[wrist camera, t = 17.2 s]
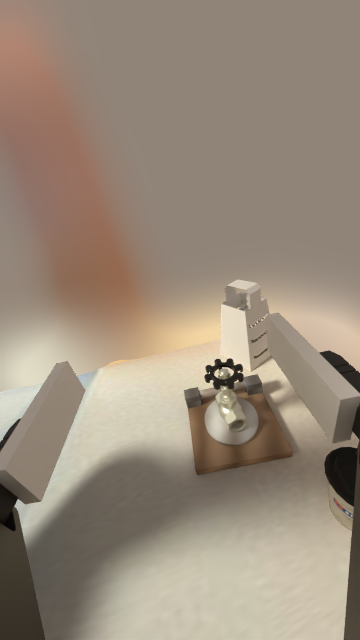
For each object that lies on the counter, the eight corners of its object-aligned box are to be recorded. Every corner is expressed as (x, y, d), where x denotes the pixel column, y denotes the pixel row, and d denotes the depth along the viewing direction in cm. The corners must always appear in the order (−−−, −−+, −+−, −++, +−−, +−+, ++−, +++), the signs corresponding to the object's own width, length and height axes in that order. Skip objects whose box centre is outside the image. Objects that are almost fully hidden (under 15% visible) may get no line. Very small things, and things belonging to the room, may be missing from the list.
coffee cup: (321, 471, 34) (328, 432, 29) (382, 497, 30) (401, 456, 25) (316, 522, 29) (322, 486, 25) (386, 561, 25) (410, 526, 21)
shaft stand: (197, 474, 37) (192, 460, 35) (188, 402, 51) (184, 389, 48) (292, 456, 37) (292, 440, 35) (257, 387, 50) (256, 373, 48)
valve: (240, 398, 46) (233, 353, 40) (256, 426, 40) (251, 378, 34) (209, 408, 45) (198, 364, 39) (221, 438, 39) (211, 391, 33)
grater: (245, 336, 67) (239, 273, 57) (277, 350, 59) (276, 279, 49) (220, 354, 62) (209, 289, 53) (250, 371, 54) (244, 298, 45)
